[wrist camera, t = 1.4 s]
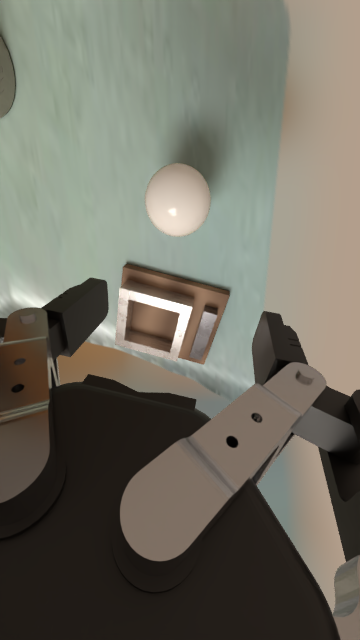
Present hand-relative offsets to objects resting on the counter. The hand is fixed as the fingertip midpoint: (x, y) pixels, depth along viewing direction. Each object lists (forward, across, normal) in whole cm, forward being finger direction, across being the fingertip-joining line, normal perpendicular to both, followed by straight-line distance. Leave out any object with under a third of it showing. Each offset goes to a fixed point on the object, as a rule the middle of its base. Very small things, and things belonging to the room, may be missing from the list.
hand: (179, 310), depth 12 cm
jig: (+23, +5, +15) cm, 27 cm away
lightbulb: (+23, +4, -3) cm, 23 cm away
